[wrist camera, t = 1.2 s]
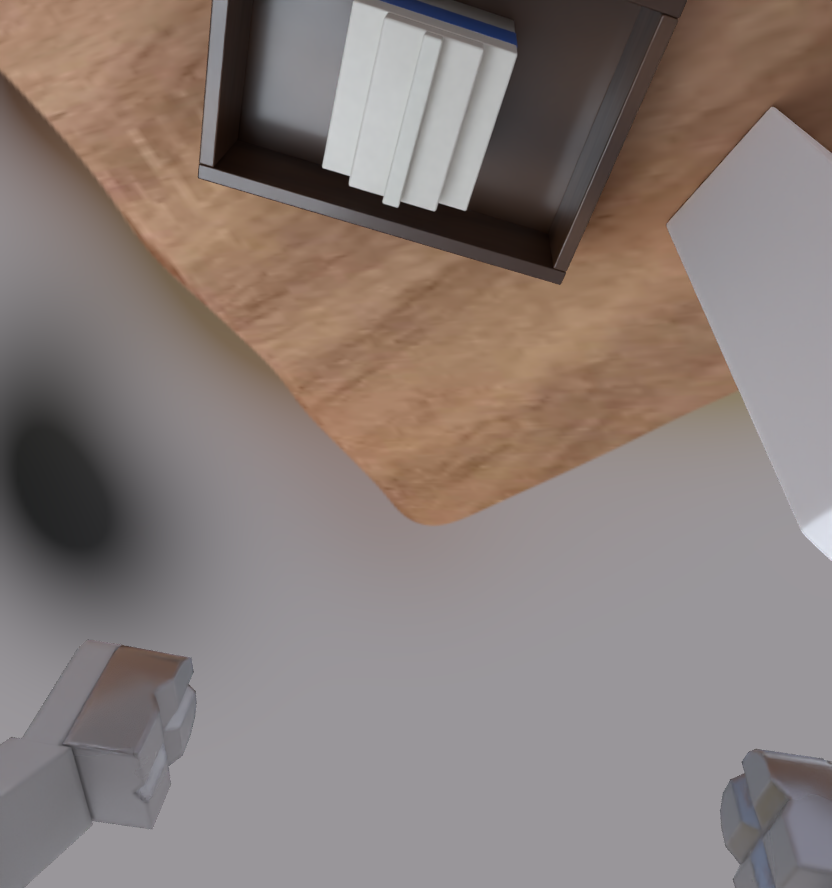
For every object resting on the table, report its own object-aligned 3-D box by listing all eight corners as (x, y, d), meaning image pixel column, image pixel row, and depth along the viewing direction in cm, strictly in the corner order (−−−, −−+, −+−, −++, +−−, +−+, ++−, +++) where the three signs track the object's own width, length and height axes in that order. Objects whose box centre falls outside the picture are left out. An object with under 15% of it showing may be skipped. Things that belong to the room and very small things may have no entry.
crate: (257, -162, 25) (224, -162, 22) (666, -20, 27) (688, -1, 24) (225, 145, 32) (197, 178, 29) (554, 244, 34) (560, 285, 31)
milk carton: (374, -27, 27) (345, 7, 22) (515, 19, 28) (520, 64, 22) (345, 121, 31) (312, 183, 25) (470, 160, 31) (465, 229, 26)
